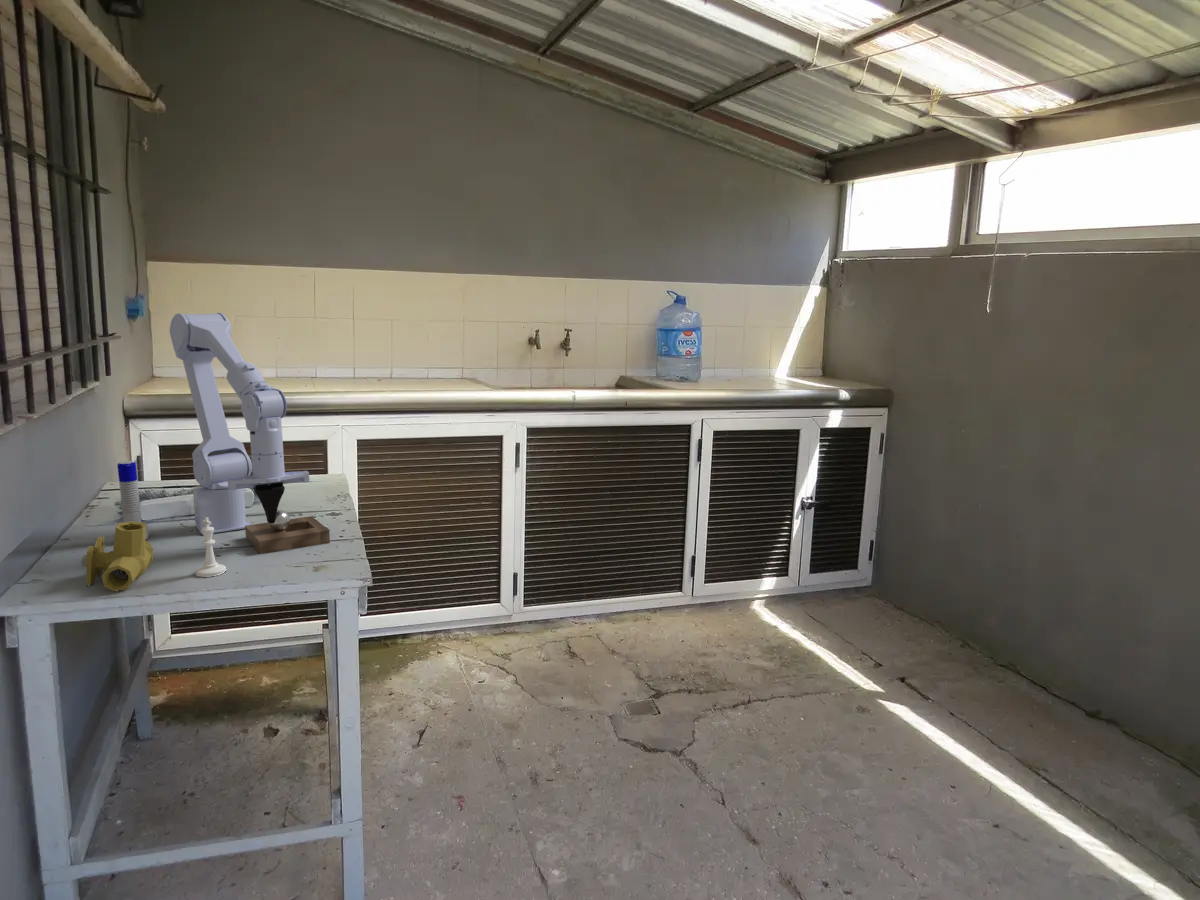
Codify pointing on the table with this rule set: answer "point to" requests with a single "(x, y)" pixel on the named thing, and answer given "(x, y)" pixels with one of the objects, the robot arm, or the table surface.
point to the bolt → (130, 493)
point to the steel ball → (280, 520)
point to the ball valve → (120, 557)
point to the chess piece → (209, 554)
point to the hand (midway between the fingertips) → (272, 522)
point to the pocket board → (287, 535)
